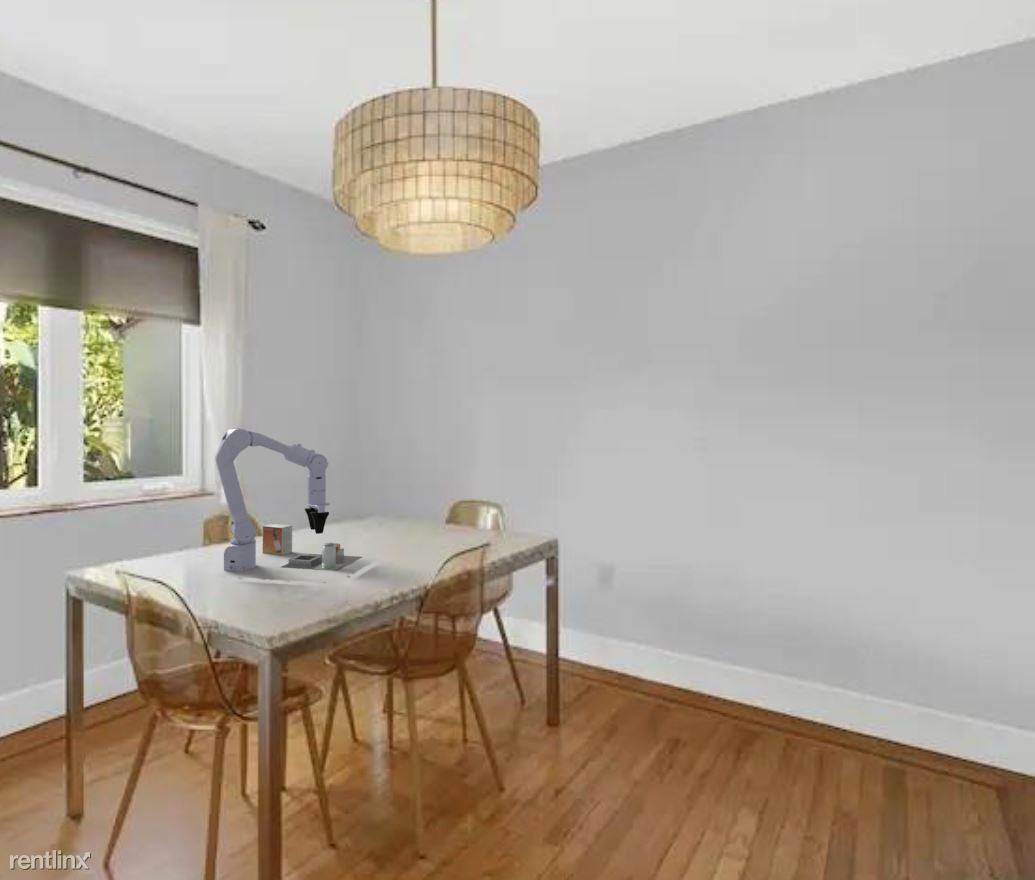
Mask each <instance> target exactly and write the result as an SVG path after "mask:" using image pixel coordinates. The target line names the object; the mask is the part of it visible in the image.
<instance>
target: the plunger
mask: <svg viewBox="0 0 1035 880" xmlns="http://www.w3.org/2000/svg"><path fill="white" fill-rule="evenodd" d="M333 543H334V545H336V551H337V550H338V548H341V543H335V542H333Z"/></svg>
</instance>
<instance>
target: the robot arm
mask: <svg viewBox="0 0 1035 880" xmlns="http://www.w3.org/2000/svg"><path fill="white" fill-rule="evenodd" d="M249 446H250V447H258V446H260V447H263V448H266V449H268V450H271V451H274V452H277V453H280V454H281V455H283V457H284V459H285V460H286V461H288V462H290V463H292V464H295V465H298V466H300V467H303V468H307V503H306V507H305V508H304V512H305V513H306V516H307V518H308V523H309V528H310V530H311V531H313V530H314V531H315V534H316V535H317V534H318V535H319V534H324V529H325V525H326V522H327V519H328V517H329V515H330V512H329V511H326V506H330V502H328V501H327V500H326V499H327V492H326V491H327V490H326V489H327V487H326V486H327V480H326V479H327V476H326V470H327V469H328V467H329V462H328V459H327V458H326V456H324V454H322V453H321V454H320V453H317V452H316V450H315V449H308V448H306V447H303V446H302V444H301V443H300V442H299V443H298V442H297V443H291V444H289V445H287V444H285V443H282V442H280V441H278V440H276V439H274V438H271V437H269V436H267V435H264V434H262V433H259V432H255V431H251V430H247V429H244V428H240V427H233V428H230V429H228V430H227V431H226V432H225V433H224V435H223V436H221V439H220V443H219V446H218V448H217V452H216V454H215V457H214V458H215V459H214V460H215V463H216V467H217V471H218V474H219V477H220V481H221V485H222V488H223V489H222V490H223V492H224V496H225V499H226V500H225V501H226V504H227V507H228V511H229V518H230V527H229V532H230V534H231V536H232V538H231V539H230V540H229V542H230V543H229V546H227V547H226V548H225V550H224V552H223V571H229V572H230V571H231V572H244V571H247V570H249V569H252V568H255V567H257V566H256V565H257V563H256V562H257V557H256V555H257V554H256V551H257V550H256V547H257V546H256V544H257V542H256V540H257V539H256V538H255V537H256V535H257V528H256V526H255V525H254V524H253V523H252V521H251V519H250V516H249V513H248V511H247V508H246V504H245V501H244V500H245V499H244V495H243V492H242V489H241V485H240V481H239V478H238V474H237V470H236V466H235V463H234V462H235V460H236V459H237V457H238V456H239V455H240V453H242V452H243V451H244V450H246V449H247V448H248V447H249ZM307 507H308V508H307Z"/></svg>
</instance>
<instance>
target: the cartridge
mask: <svg viewBox="0 0 1035 880" xmlns="http://www.w3.org/2000/svg"><path fill="white" fill-rule="evenodd" d="M334 543H335V542H326V543H324V544H323V545H322V547H321V548H322V549H321V551H322V553H321V554H322V567H323V568H333V567H336V545H334Z"/></svg>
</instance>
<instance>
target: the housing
mask: <svg viewBox="0 0 1035 880" xmlns="http://www.w3.org/2000/svg"><path fill="white" fill-rule="evenodd" d="M362 558H363V556H354V555H345V548H342V547H340V548H338V550H337V551H336V567H333V568H323V567H322V553H321V554H318V553H317V554H316V553H309V554H299V555H296V556H294V557H291V558H290V559H288V563H287V564H283V565H282V566H280V568H283V569H284V568H285V569H298V570H299V569H302V570H314V571H315V570H316V571H318V570H319V571H331V572H332V571H335V572H338V571H340V570H342V569H344V568H345V567H347V566H349V565H351V564H352V563H354V562H356V561H358V560H360V559H362Z"/></svg>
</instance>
